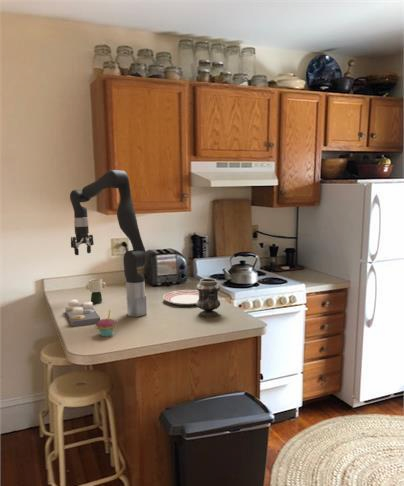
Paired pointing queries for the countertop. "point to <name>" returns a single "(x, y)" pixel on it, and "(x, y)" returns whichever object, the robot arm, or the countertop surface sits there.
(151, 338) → the countertop surface
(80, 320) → the button board
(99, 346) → the countertop surface
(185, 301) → the dinner plate
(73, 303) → the button back
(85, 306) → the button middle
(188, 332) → the countertop surface
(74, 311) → the button front
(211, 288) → the apothecary jar
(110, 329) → the cupcake
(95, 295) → the character mug
